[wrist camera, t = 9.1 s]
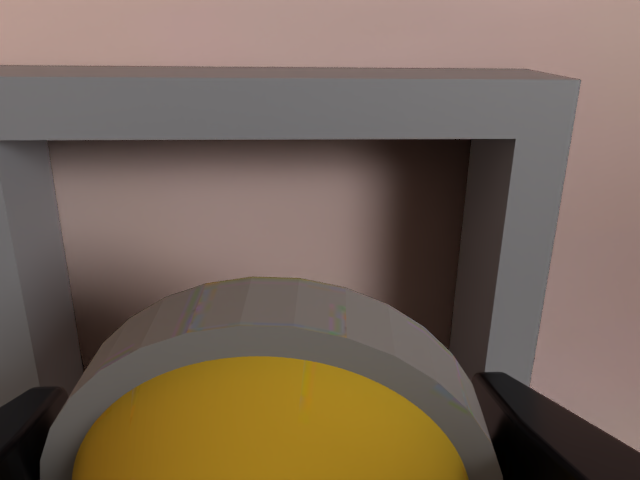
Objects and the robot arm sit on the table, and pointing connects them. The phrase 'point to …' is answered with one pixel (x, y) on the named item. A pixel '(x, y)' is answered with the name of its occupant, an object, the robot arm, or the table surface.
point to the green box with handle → (277, 124)
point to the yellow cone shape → (271, 393)
